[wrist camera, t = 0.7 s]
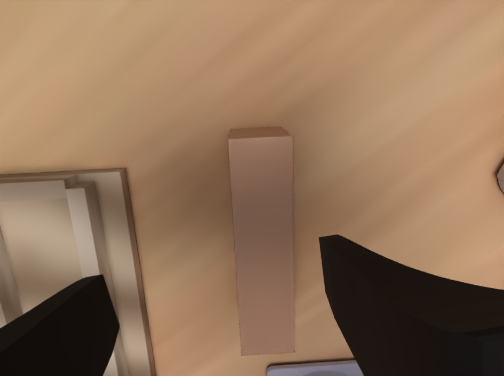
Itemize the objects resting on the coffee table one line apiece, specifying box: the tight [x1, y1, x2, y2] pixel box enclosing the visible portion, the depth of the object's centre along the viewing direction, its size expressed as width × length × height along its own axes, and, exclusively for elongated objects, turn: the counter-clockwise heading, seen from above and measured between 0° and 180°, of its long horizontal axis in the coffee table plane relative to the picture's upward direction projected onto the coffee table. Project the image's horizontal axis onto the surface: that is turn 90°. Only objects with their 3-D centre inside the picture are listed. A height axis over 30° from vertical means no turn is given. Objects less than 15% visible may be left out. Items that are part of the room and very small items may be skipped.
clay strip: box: [228, 127, 295, 356], centre depth 20 cm, size 12×3×5 cm, turn 2°
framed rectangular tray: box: [0, 168, 156, 376], centre depth 22 cm, size 16×10×2 cm, turn 3°
